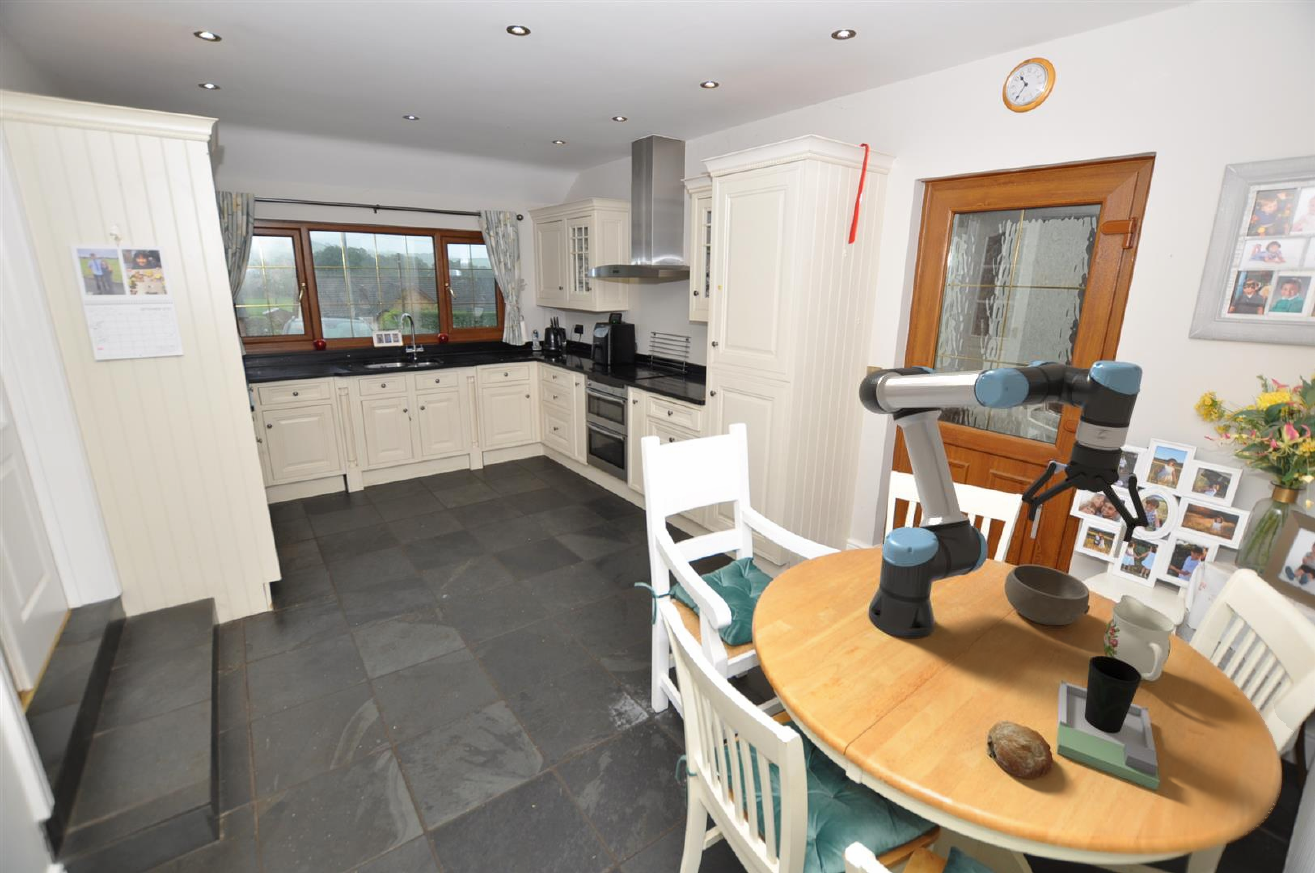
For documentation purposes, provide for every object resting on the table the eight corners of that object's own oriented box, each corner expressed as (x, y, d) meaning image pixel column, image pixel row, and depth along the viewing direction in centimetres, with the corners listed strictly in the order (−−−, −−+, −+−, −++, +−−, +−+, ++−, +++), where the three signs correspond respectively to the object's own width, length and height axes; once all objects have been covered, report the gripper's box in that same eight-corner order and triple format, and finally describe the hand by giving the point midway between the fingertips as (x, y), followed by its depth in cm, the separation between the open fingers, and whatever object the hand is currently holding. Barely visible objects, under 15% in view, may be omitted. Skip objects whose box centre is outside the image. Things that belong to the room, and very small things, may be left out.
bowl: (1095, 619, 145) (1103, 583, 142) (1063, 644, 135) (1071, 606, 133) (1021, 589, 159) (1028, 556, 156) (988, 609, 149) (994, 575, 146)
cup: (1137, 739, 106) (1151, 684, 103) (1091, 735, 108) (1104, 680, 104) (1112, 709, 114) (1124, 657, 110) (1070, 705, 115) (1081, 653, 112)
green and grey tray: (1056, 753, 105) (1061, 734, 104) (1058, 690, 120) (1062, 674, 119) (1156, 790, 97) (1162, 771, 96) (1144, 719, 113) (1149, 702, 112)
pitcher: (1119, 694, 119) (1134, 636, 115) (1085, 643, 136) (1098, 591, 132) (1183, 706, 116) (1201, 647, 112) (1141, 651, 133) (1155, 599, 129)
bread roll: (980, 752, 110) (968, 722, 107) (1030, 730, 109) (1020, 699, 107) (1016, 798, 100) (1004, 766, 98) (1071, 774, 100) (1060, 741, 97)
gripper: (1020, 437, 113) (999, 534, 119) (1188, 463, 99) (1155, 572, 106) (1023, 428, 119) (1003, 521, 125) (1182, 451, 105) (1151, 555, 112)
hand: (1072, 545), depth 116 cm, fingers open, 13 cm apart
